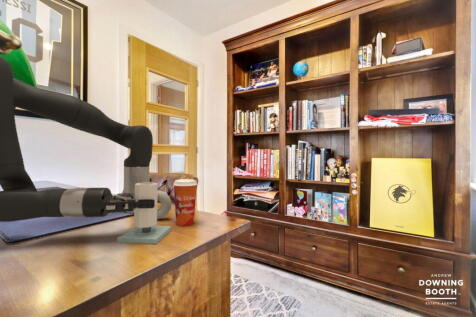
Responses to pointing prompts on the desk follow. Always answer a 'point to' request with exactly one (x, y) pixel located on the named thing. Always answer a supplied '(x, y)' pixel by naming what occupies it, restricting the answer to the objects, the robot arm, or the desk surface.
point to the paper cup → (185, 201)
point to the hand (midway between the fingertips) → (156, 201)
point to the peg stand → (145, 235)
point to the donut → (163, 204)
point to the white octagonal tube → (146, 215)
